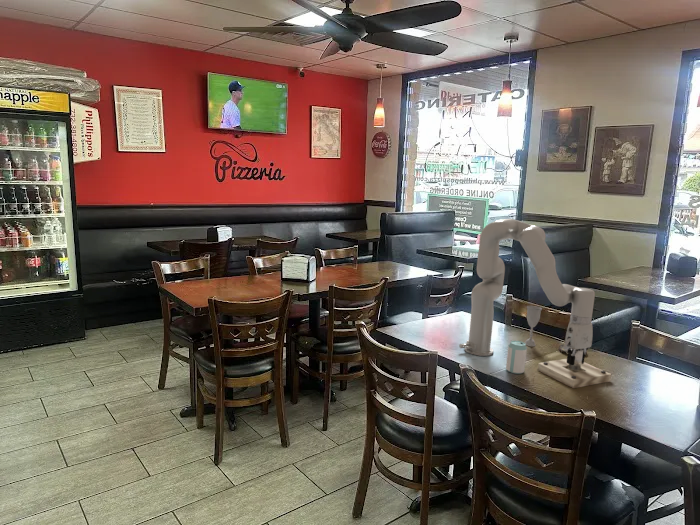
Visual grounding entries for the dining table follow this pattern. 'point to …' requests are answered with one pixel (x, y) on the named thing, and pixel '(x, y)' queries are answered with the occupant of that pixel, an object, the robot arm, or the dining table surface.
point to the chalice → (532, 321)
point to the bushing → (577, 360)
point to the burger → (563, 349)
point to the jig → (574, 373)
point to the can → (516, 357)
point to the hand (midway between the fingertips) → (575, 362)
